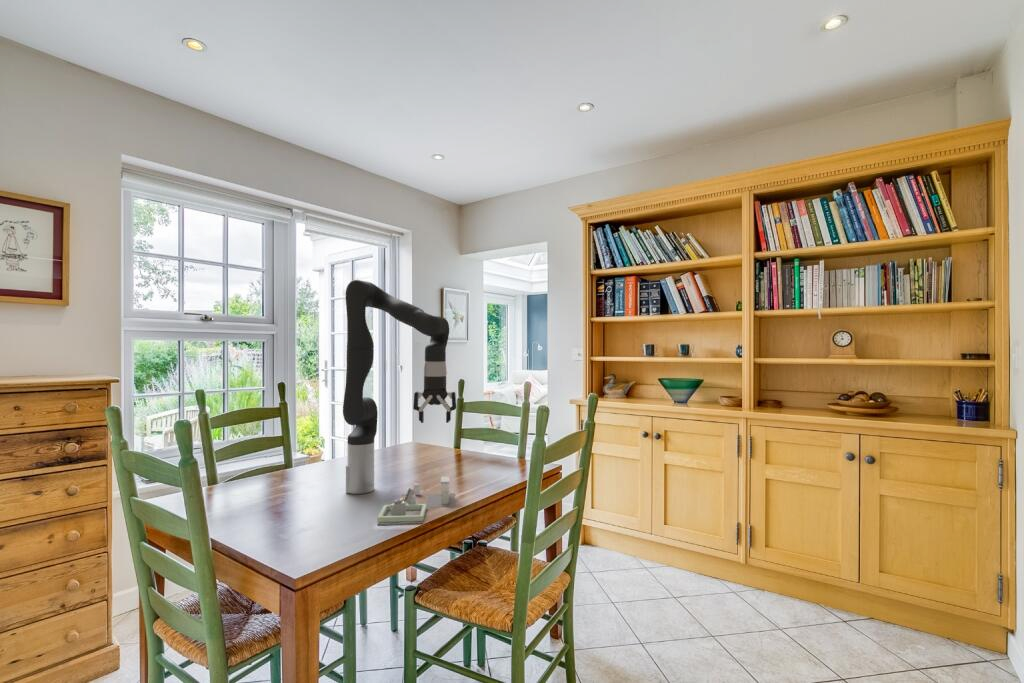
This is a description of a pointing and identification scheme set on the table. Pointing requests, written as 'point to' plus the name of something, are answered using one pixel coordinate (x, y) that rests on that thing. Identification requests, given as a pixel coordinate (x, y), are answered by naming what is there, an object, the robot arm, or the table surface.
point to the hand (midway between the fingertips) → (434, 422)
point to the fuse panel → (433, 498)
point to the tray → (402, 518)
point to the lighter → (401, 504)
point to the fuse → (445, 485)
